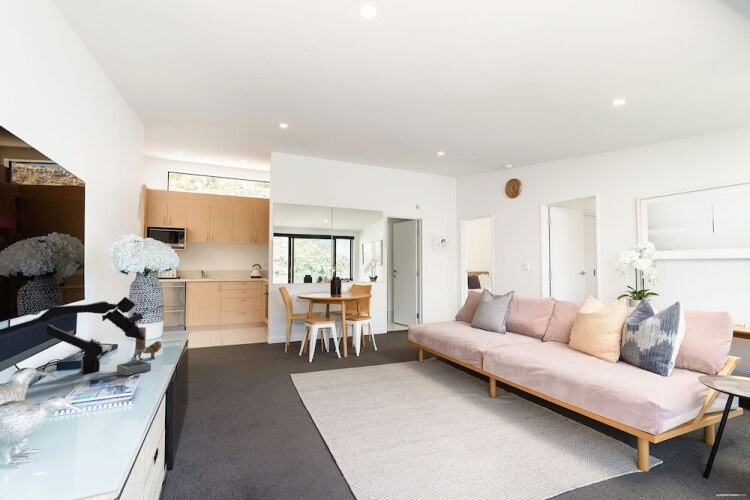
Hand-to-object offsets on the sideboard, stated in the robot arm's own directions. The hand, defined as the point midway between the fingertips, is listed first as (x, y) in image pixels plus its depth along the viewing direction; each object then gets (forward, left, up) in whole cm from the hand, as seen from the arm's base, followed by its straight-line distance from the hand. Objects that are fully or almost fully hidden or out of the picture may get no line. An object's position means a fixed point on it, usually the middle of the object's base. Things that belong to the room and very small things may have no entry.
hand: (143, 338), depth 190 cm
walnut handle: (-1, 0, -7) cm, 7 cm away
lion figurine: (+7, +12, -14) cm, 19 cm away
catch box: (-8, -10, -13) cm, 18 cm away
